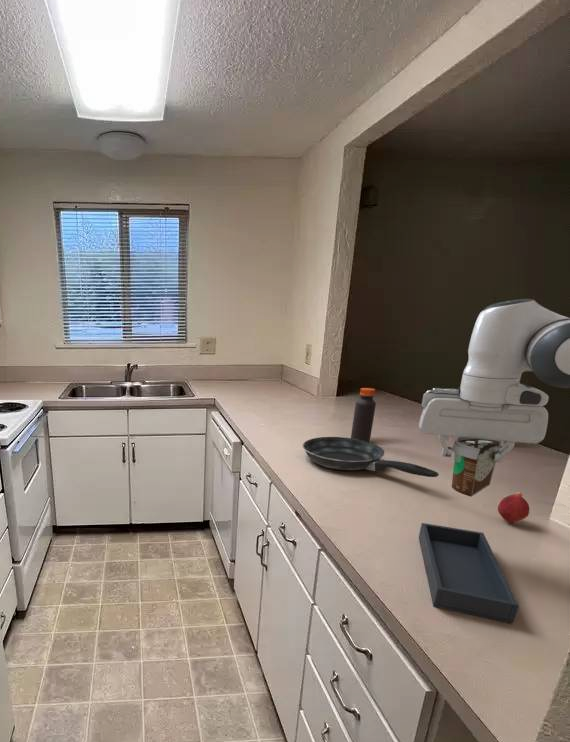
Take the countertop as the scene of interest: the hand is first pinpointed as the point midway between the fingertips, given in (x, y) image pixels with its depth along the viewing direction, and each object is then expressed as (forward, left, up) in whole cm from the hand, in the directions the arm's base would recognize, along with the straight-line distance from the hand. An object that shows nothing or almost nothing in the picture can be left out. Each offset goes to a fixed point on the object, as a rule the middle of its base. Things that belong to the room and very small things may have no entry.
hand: (470, 458), depth 87 cm
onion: (-15, -19, -21) cm, 32 cm away
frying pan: (+19, -44, -21) cm, 52 cm away
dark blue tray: (0, +10, -21) cm, 23 cm away
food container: (0, 0, -6) cm, 6 cm away
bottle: (+19, -74, -21) cm, 79 cm away
